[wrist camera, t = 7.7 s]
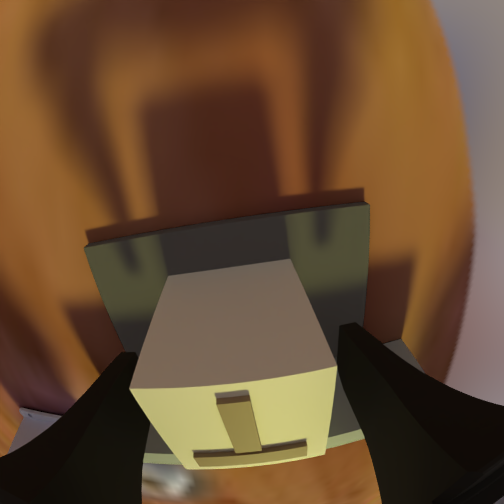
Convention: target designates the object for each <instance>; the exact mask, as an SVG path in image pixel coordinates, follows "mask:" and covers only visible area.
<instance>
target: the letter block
mask: <svg viewBox="0 0 504 504" xmlns="http://www.w3.org/2000/svg"><path fill="white" fill-rule="evenodd" d="M336 374H337V364H336V362H335V359H334V357H333V355H332V352H331V350H330V347H329V345H328V343H327V340H326V338H325V336H324V333H323V331H322V329H321V327H320V324H319V322H318V320H317V317H316V315H315V313H314V311H313V308H312V306H311V304H310V301H309V299H308V297H307V295H306V292H305V290H304V288H303V286H302V284H301V281H300V279H299V277H298V275H297V273H296V270H295V268H294V266H293V264H292V262H291V259H284V260H278V261H271V262H264V263H257V264H250V265H243V266H236V267H229V268H222V269H215V270H207V271H200V272H193V273H186V274H178V275H171V276H168V278H167V280H166V283H165V285H164V288H163V291H162V293H161V296H160V299H159V301H158V304H157V307H156V310H155V312H154V315H153V318H152V321H151V323H150V326H149V329H148V332H147V335H146V338H145V341H144V344H143V347H142V350H141V353H140V356H139V359H138V362H137V365H136V368H135V371H134V374H133V378H132V381H131V384H130V387H129V389H130V391H131V393H132V394H133V396H134V397H135V399H136V401H137V402H138V404H139V405H140V407H141V408H142V410H143V411H144V413H145V414H146V416H147V417H148V419H149V420H150V422H151V423H152V425H153V426H154V428H155V429H156V430H157V432H158V433H159V435H160V436H161V437H162V439H163V440H164V441H165V443H166V444H167V445H168V447H169V448H170V449H171V451H172V452H173V453H174V454H175V456H176V457H177V458H178V460H179V461H180V462H181V463H182V464H183V466H184V467H185V468H186V469H225V468H240V467H251V466H261V465H269V464H276V463H283V462H289V461H295V460H300V459H306V458H311V457H315V456H320V455H324V454H325V450H326V445H327V439H328V433H329V427H330V420H331V414H332V407H333V399H334V391H335V383H336Z"/></svg>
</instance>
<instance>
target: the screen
mask: <svg viewBox="0 0 504 504" xmlns="http://www.w3.org/2000/svg"><path fill="white" fill-rule="evenodd" d="M384 345H385V346H386V347H387V348H389V349H390V350H391V351H393V352H394V353H395V354H397V355H398V356H399V357H401V358H402V359H404V360H405V361H406V362H408V363H409V364H411V365H412V366H414V367H415V368H417V369H419V370H420V371H422V372H423V373H425V372H424V371H423V369H422V368H421V366H420V365H419V364H418V362H417V361H416V359H415V358H414V356H413V355H412V353H411V352H410V350H409V349H408V348H407V346H406V345H405V343H404V342H403V341H402V339H398V340H395V341H392V342H388V343H385V344H384ZM334 359H335V362H336V363H337V357H336V358H334ZM364 438H365V437H364V435H363V433H362V430H361V428H360V426H359V423H358V421H357V419H356V417H355V415H354V412H353V410H352V408H351V406H350V403H349V401H348V399H347V397H346V394H345V392H344V390H343V387H342V383H341V380H340V377H339V373H338V370H337V374H336V383H335V391H334V399H333V407H332V414H331V420H330V427H329V433H328V439H327V445H326V449H328V448H332V447H336V446H340V445H344V444H347V443H351V442H354V441H358V440H361V439H364ZM143 462H144V463H158V464H182V463H181V462H180V461H179V460H178V458H177V457H176V456H175V454H174V453H173V452H172V451H171V449H170V448H169V447H168V445H167V444H166V443H165V441H164V440H163V439H162V437H161V436H160V435H159V433H158V432H157V430H156V429H155V428H154V426H153V425H152V423H150V428H149V433H148V438H147V443H146V448H145V454H144V459H143Z"/></svg>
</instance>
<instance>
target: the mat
mask: <svg viewBox="0 0 504 504" xmlns="http://www.w3.org/2000/svg"><path fill="white" fill-rule="evenodd" d="M369 236H370V204H368V203H366V202H357V203H348V204H339V205H330V206H322V207H314V208H305V209H298V210H290V211H282V212H275V213H268V214H260V215H253V216H246V217H240V218H233V219H226V220H220V221H213V222H207V223H200V224H194V225H188V226H182V227H176V228H170V229H164V230H159V231H153V232H147V233H142V234H136V235H131V236H125V237H120V238H115V239H110V240H104V241H99V242H94V243H89V244H88V245H86V246H85V247H84V250H85V253H86V256H87V259H88V262H89V265H90V268H91V271H92V274H93V276H94V279H95V282H96V284H97V287H98V290H99V292H100V295H101V297H102V300H103V302H104V305H105V307H106V309H107V312H108V314H109V316H110V319H111V321H112V323H113V325H114V328H115V330H116V332H117V334H118V336H119V339H120V341H121V343H122V345H123V347H124V349H125V351H126V352H136V354H137V356H138V358H139V356H140V353H141V350H142V347H143V344H144V341H145V338H146V335H147V332H148V329H149V326H150V323H151V321H152V318H153V315H154V312H155V310H156V307H157V304H158V301H159V299H160V296H161V293H162V291H163V288H164V285H165V283H166V280H167V278H168V276H171V275H178V274H186V273H193V272H200V271H207V270H215V269H222V268H229V267H236V266H243V265H250V264H257V263H264V262H271V261H278V260H284V259H291V262H292V264H293V266H294V268H295V270H296V273H297V275H298V277H299V279H300V281H301V284H302V286H303V288H304V290H305V292H306V295H307V297H308V299H309V301H310V304H311V306H312V308H313V311H314V313H315V315H316V317H317V320H318V322H319V324H320V327H321V329H322V331H323V333H324V336H325V338H326V340H327V343H328V345H329V347H330V350H331V352H332V355H333V357H334V358H336V357H337V351H338V337H339V325H344V324H348V323H353V322H356V323H358V324H359V325H360V326H361V327H363V322H364V313H365V303H366V291H367V278H368V262H369Z"/></svg>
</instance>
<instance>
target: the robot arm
mask: <svg viewBox="0 0 504 504" xmlns="http://www.w3.org/2000/svg"><path fill="white" fill-rule="evenodd" d="M138 359H139V358H138V356H137V354H136V352H121V353H120V354H119V355H118V356H117V357H116V358H115V359H114V360H113V362H112V363H111V364H110V365H109V366H108V367H107V368H106V369H105V371H104V372H103V373H102V374H101V375H100V376H99V378H98V379H97V380H96V381H95V382H94V383H93V384H92V385H91V387H90V388H89V389H88V390H87V391H86V392H85V393H84V394H83V395H82V396H81V397H80V398H79V399H78V401H77V402H76V403H75V404H74V405H73V406H72V407H71V408H70V409H69V410H68V411H67V412H66V413H65V414H64V415H63V416H59V415H54V414H49V413H44V412H39V411H35V410H30V409H26V408H20V410H19V411H20V413H21V414H22V415H23V416H24V418H23V420H22V422H21V424H20V426H19V429H18V431H17V433H16V435H15V437H14V440H13V442H12V444H11V447H10V449H9V452H8V454H7V455H5V456H2V457H0V504H142V492H141V488H142V467H143V459H144V454H145V448H146V443H147V438H148V433H149V428H150V423H151V422H150V420H149V419H148V417H147V416H146V414H145V413H144V411H143V410H142V408H141V407H140V405H139V404H138V402H137V401H136V399H135V397H134V396H133V394H132V393H131V391H130V389H129V387H130V384H131V381H132V378H133V374H134V371H135V368H136V365H137V362H138ZM336 364H337V370H338V373H339V377H340V380H341V383H342V387H343V390H344V392H345V394H346V397H347V399H348V401H349V403H350V406H351V408H352V410H353V412H354V415H355V417H356V419H357V421H358V423H359V426H360V428H361V430H362V433H363V435H364V437H365V440H366V443H367V445H368V448H369V452H370V455H371V459H372V462H373V466H374V470H375V474H376V478H377V482H378V486H379V491H380V496H381V501H382V504H504V406H502V405H498V404H494V403H490V402H487V401H484V400H481V399H478V398H475V397H472V396H470V395H467V394H465V393H462V392H460V391H458V390H455V389H453V388H451V387H449V386H447V385H445V384H443V383H441V382H439V381H437V380H435V379H434V378H432V377H430V376H428V375H427V374H425V373H423V372H422V371H420V370H419V369H417V368H415V367H414V366H412V365H411V364H409V363H408V362H406V361H405V360H404V359H402V358H401V357H399V356H398V355H397V354H395V353H394V352H393V351H391V350H390V349H389V348H387V347H386V346H385V345H384V344H382V343H381V342H380V341H379V340H377V339H376V338H375V337H374V336H372V335H371V334H370V333H369V332H367V331H366V330H365V329H364V328H363V327H361V326H360V325H359V324H358V323H356V322H353V323H348V324H344V325H339V337H338V351H337V363H336Z"/></svg>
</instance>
